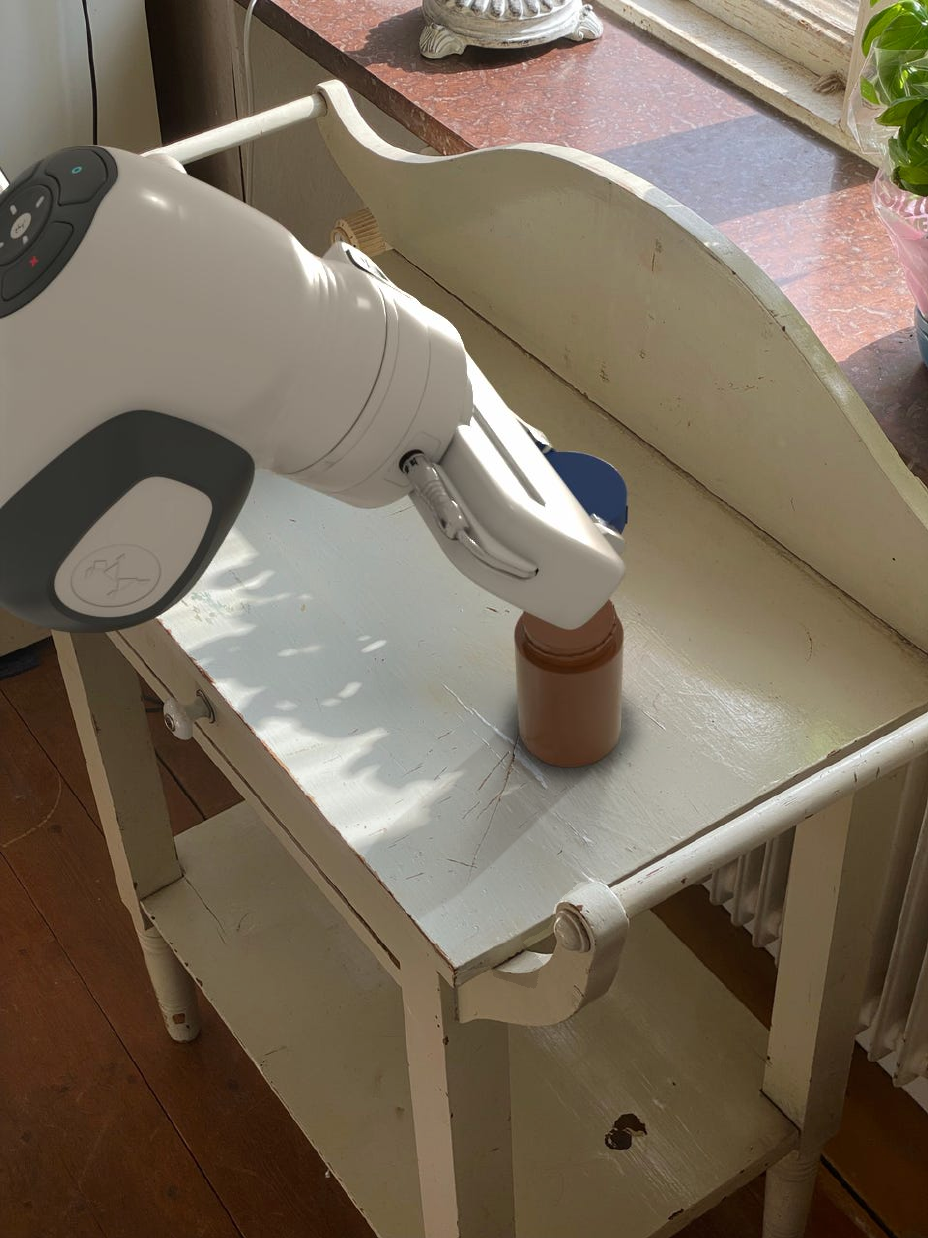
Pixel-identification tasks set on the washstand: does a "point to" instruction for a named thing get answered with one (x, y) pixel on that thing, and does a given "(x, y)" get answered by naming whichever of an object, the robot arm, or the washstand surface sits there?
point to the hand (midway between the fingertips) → (575, 500)
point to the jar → (570, 687)
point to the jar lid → (593, 485)
